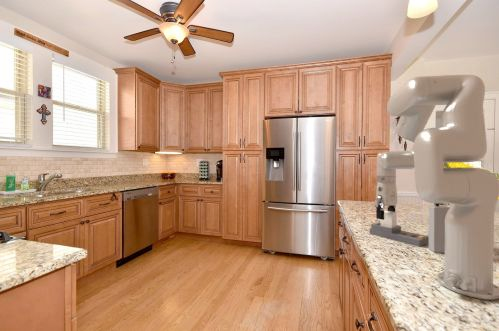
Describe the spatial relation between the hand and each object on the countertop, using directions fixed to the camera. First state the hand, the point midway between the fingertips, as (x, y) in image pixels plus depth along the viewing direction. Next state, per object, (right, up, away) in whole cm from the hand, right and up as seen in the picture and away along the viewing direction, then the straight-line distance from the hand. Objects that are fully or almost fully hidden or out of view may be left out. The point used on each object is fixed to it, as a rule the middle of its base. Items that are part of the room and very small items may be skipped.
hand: (385, 217), depth 108 cm
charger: (+1, -5, -1) cm, 6 cm away
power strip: (+3, -9, -4) cm, 10 cm away
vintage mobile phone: (+8, -8, -20) cm, 23 cm away
